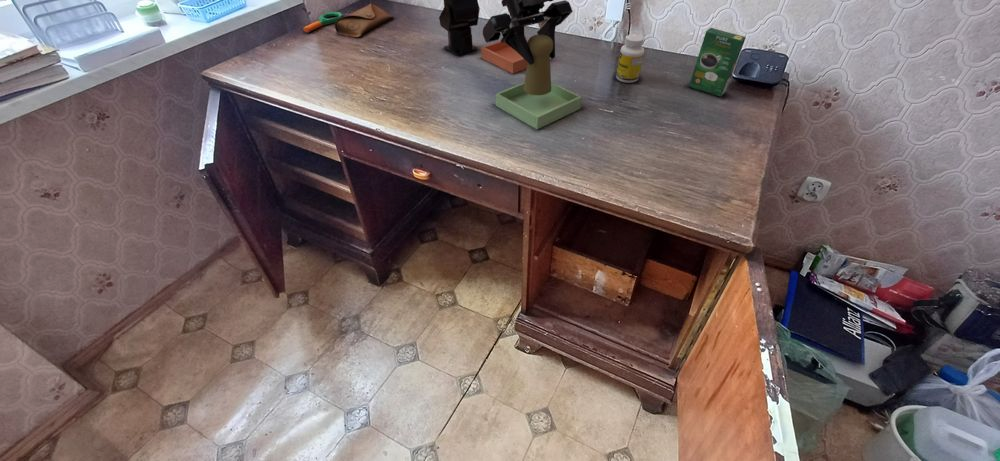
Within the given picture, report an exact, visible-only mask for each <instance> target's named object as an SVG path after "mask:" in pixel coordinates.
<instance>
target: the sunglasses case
mask: <svg viewBox="0 0 1000 461" xmlns="http://www.w3.org/2000/svg"><path fill="white" fill-rule="evenodd" d="M394 17H395V16H394V15H391V14H389V13H388V12H386V11H384V9H382V8H380V7H379V6H377V5H375V4H374V3H373V2H370V4H367V5H366V6H364V7H361V8H359V9H356V10H355V11H353V12H351V13H349V14H347V15H345V16H342V18H340V19H338V20H337V21H336V22H335V23H334V30H335V31H336V33H337V34H338V35H341V36H344V37H350V38H360V37H362V36H363V35H365V34H366V33H368V32H370V31H372V30H373V29H375V28H377V27H379V26H381V25H383V24H385V23H386V22H388V21H390V20H391V19H393V18H394Z"/></svg>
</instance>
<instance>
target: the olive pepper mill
mask: <svg viewBox="0 0 1000 461" xmlns="http://www.w3.org/2000/svg"><path fill="white" fill-rule="evenodd" d="M527 40H528V46H529V48H530V51H531V53H532V56H533V60H534V63H533V64H532V65H530V64H529V63H528V65H527V68H526V72H525V77H524V82H523V83H524V88H523V89H524V91H525V92H527V93H529V94H532V95H545V94H548V93H549V92H550V91H551V82H552V75H551V74H552V73H551V58H550V53H551V52H552V50H553V41H552V39H551V38H550V37H549V36H546V35H538V34H534V35H532V36H530V37H529V38H528V39H527Z"/></svg>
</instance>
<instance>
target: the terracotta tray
mask: <svg viewBox="0 0 1000 461" xmlns="http://www.w3.org/2000/svg"><path fill="white" fill-rule="evenodd" d="M528 40H529V39H526V41H527V43H528ZM480 50H481V59H482V60H485V61H486V62H489V63H491V64H493V65H494V66H497V67H498V68H501V69H503V70H505V71H507V72H508V73H511V74H516V73H519V72H521V71H524V70H527V65H528V62H527V61H526V60H525V59H524V58H523V57H522V56H521V55H519V53H517V52H516V51H515V50H514V49H513V48H511V47H510V46H509V45H507V44H506V43H501V40H500V41H499V40H498V41H495V42H494V43H491V44H487V45H484V46H481V49H480Z"/></svg>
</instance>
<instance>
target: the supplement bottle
mask: <svg viewBox="0 0 1000 461" xmlns="http://www.w3.org/2000/svg"><path fill="white" fill-rule="evenodd" d="M644 40H645V38H644V37H643V36H642V35H640V34H634V33H632V34H628V35H626V36H625V40H624V44H623V45H622V46H621V48H620V51H619V57H618V62H617V67H616V74H615V78H616V79H617V80H618V81H619V82H621V83H624V84H625V83H626V84H631V83H636V82H637V81H639V78H640V74H641V69H642V64H643V60H644V55H645V48H644V46H643V44H644Z"/></svg>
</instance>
